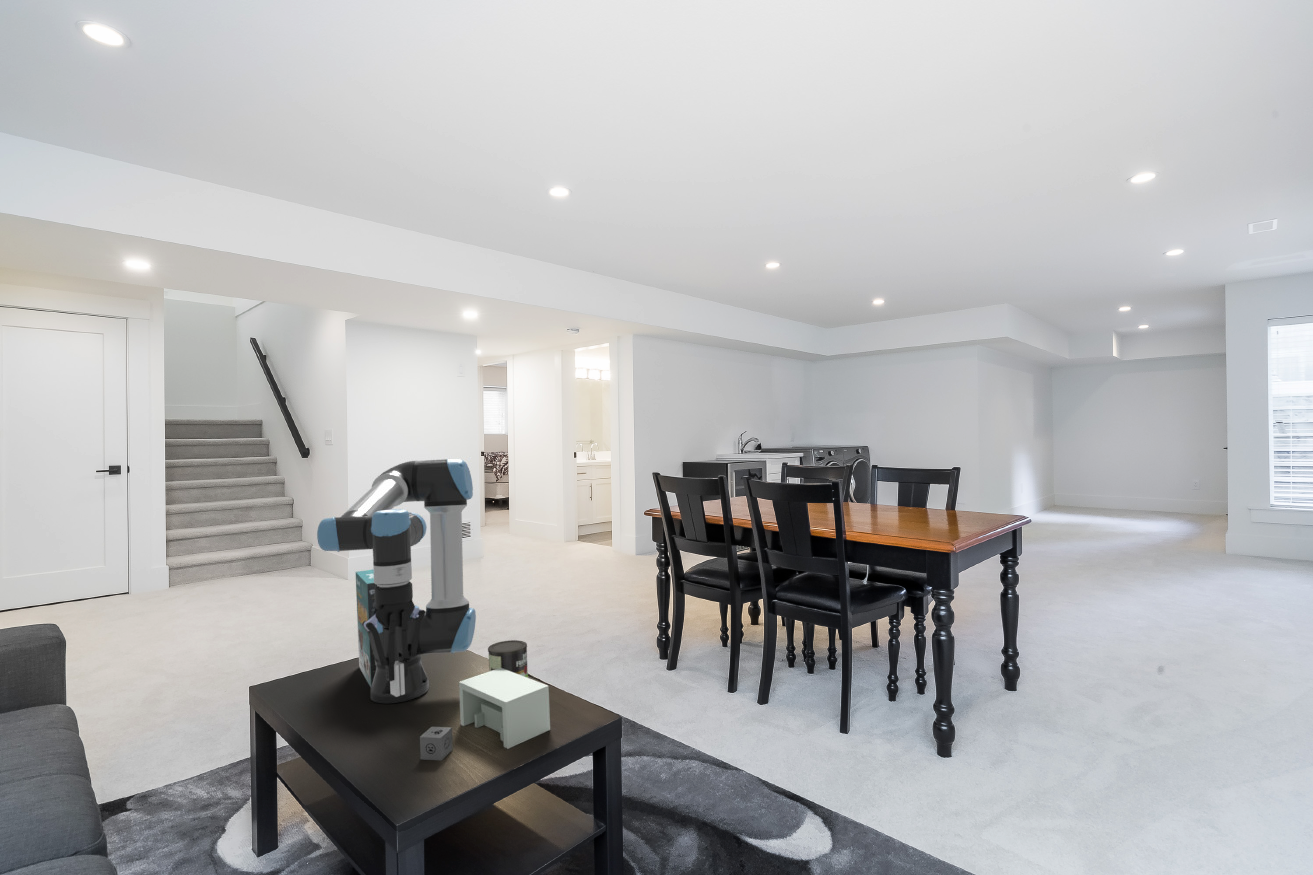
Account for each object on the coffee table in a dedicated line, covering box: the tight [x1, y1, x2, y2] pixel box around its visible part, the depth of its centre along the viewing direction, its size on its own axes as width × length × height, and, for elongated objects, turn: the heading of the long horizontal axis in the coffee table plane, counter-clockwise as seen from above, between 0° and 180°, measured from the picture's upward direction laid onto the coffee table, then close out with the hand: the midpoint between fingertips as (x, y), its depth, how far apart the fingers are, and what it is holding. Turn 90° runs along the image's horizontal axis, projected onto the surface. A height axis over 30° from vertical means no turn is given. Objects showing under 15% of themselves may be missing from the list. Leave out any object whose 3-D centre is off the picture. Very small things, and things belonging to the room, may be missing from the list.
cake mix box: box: [355, 569, 377, 688], centre depth 196 cm, size 22×6×30 cm, turn 33°
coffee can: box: [487, 639, 529, 678], centre depth 174 cm, size 10×10×14 cm
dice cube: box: [419, 726, 454, 761], centre depth 144 cm, size 5×5×5 cm
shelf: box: [458, 668, 551, 750], centre depth 157 cm, size 20×12×10 cm, turn 47°
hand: (397, 693), depth 137 cm, fingers closed
